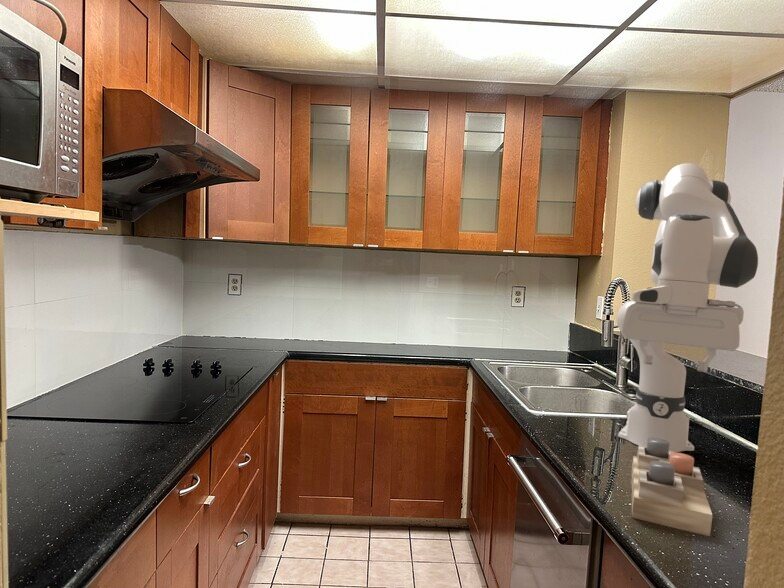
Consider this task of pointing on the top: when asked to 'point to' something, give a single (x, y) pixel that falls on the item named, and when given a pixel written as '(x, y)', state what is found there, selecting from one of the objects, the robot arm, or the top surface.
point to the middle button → (682, 463)
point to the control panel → (669, 497)
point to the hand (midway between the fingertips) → (674, 367)
